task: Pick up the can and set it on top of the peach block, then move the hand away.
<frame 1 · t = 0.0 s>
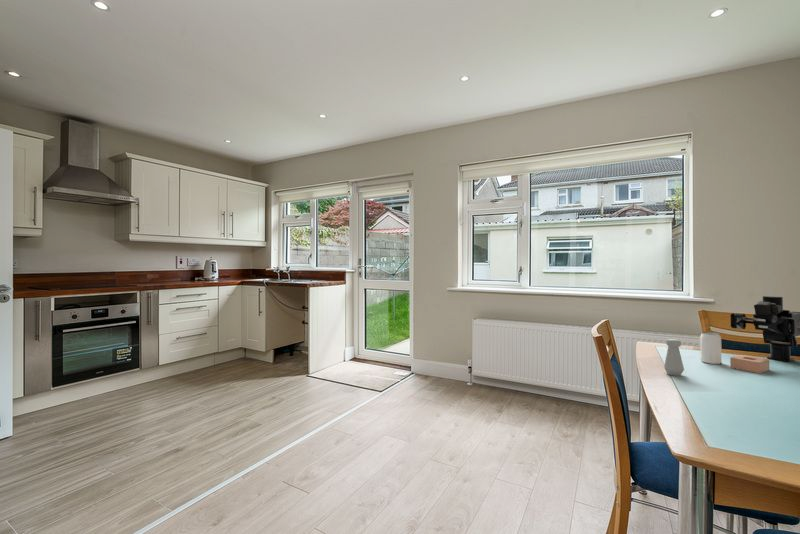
hand: (752, 325, 137), 17 cm above the table, tool horizontal, fingers open, 9 cm apart
peach block: (749, 368, 136), on the table
can: (710, 362, 146), on the table
salt shaker: (674, 374, 131), on the table
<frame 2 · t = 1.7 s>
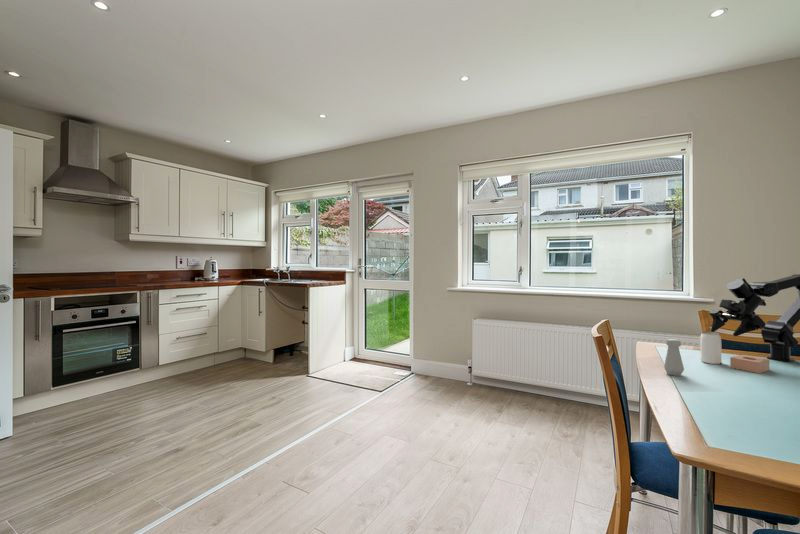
hand: (722, 333, 146), 12 cm above the table, tool tilted 45°, fingers open, 9 cm apart
nothing on the table moved.
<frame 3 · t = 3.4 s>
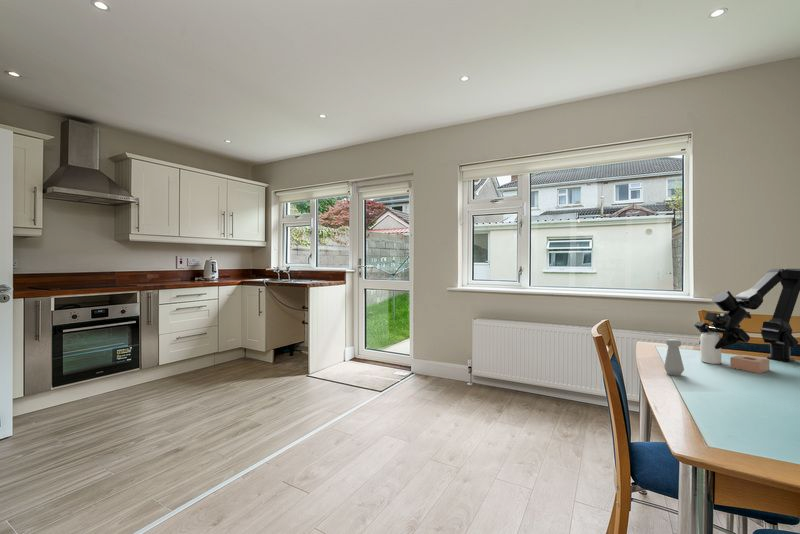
hand: (707, 346, 145), 7 cm above the table, tool tilted 45°, fingers closed on can, 6 cm apart
can: (710, 362, 146), on the table, touching gripper
everything else where it was.
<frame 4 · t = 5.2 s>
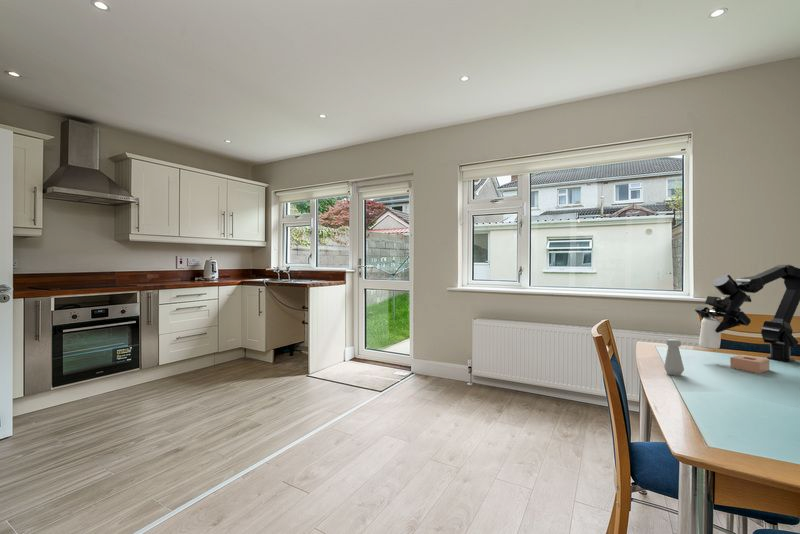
hand: (708, 330, 145), 13 cm above the table, tool tilted 45°, fingers closed on can, 6 cm apart
can: (709, 347, 146), point 6 cm above the table, touching gripper
everything else where it was.
when the fingers open (12 cm above the table, at t = 7.1 s): can stays where it is, resting on peach block.
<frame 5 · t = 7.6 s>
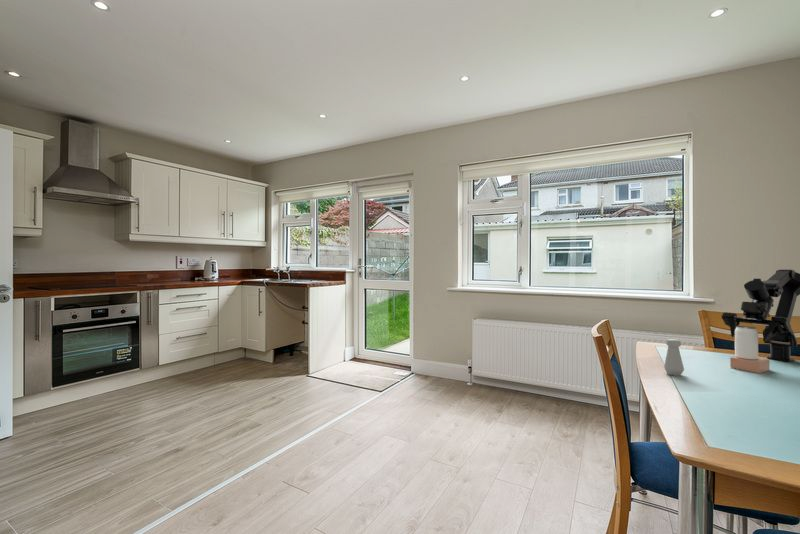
hand: (747, 338, 135), 12 cm above the table, tool tilted 45°, fingers open, 9 cm apart
can: (746, 358, 137), point 4 cm above the table, touching peach block
everything else where it was.
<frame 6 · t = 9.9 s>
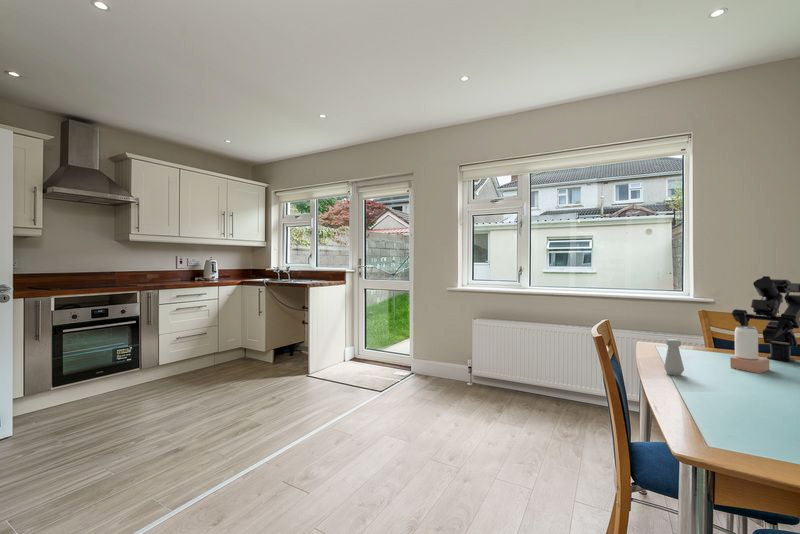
hand: (757, 335, 140), 12 cm above the table, tool tilted 40°, fingers open, 9 cm apart
nothing on the table moved.
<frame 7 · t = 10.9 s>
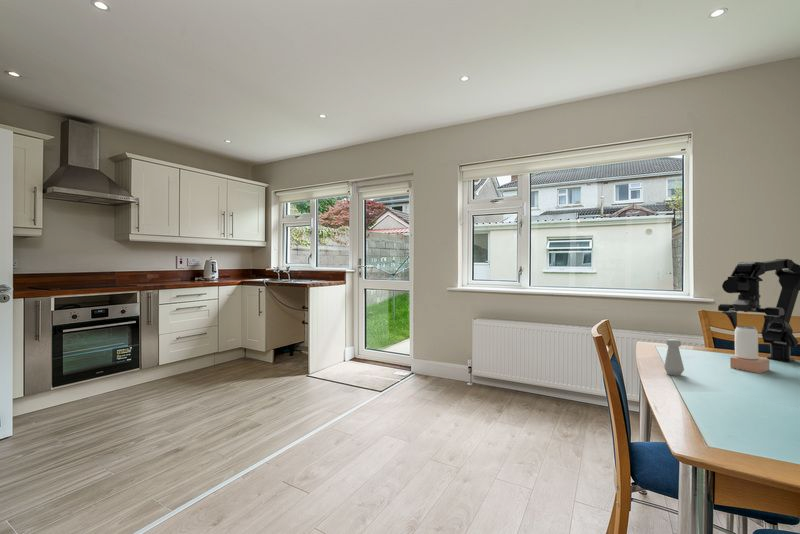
hand: (749, 330, 145), 13 cm above the table, tool pointing down, fingers open, 9 cm apart
nothing on the table moved.
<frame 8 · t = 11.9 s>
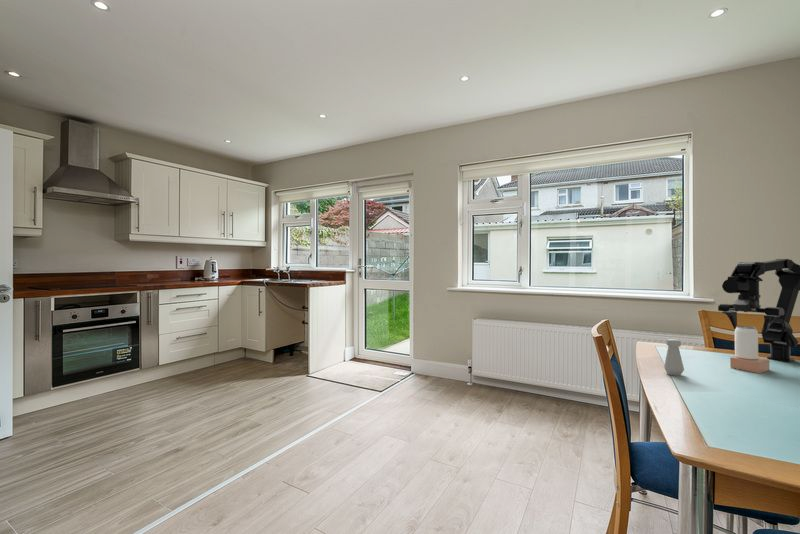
hand: (749, 330, 145), 13 cm above the table, tool pointing down, fingers open, 9 cm apart
nothing on the table moved.
at the end: can 0.9 cm off-centre on the peach block, point 3.8 cm above the peach block's base; can tilted 0°; the gripper is holding nothing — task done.
